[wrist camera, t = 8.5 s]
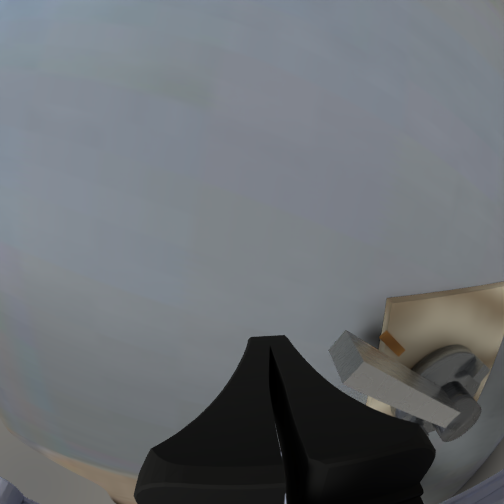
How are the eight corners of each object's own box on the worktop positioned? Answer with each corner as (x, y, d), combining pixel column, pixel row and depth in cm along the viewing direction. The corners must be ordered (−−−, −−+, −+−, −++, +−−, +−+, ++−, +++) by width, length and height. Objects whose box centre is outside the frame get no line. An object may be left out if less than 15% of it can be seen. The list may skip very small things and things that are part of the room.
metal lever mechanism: (485, 363, 23) (514, 393, 18) (423, 430, 25) (443, 465, 20) (372, 268, 20) (413, 303, 14) (286, 371, 22) (297, 426, 16)
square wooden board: (471, 400, 26) (476, 406, 25) (351, 434, 26) (354, 443, 25) (511, 280, 22) (519, 284, 21) (379, 299, 22) (385, 306, 20)
